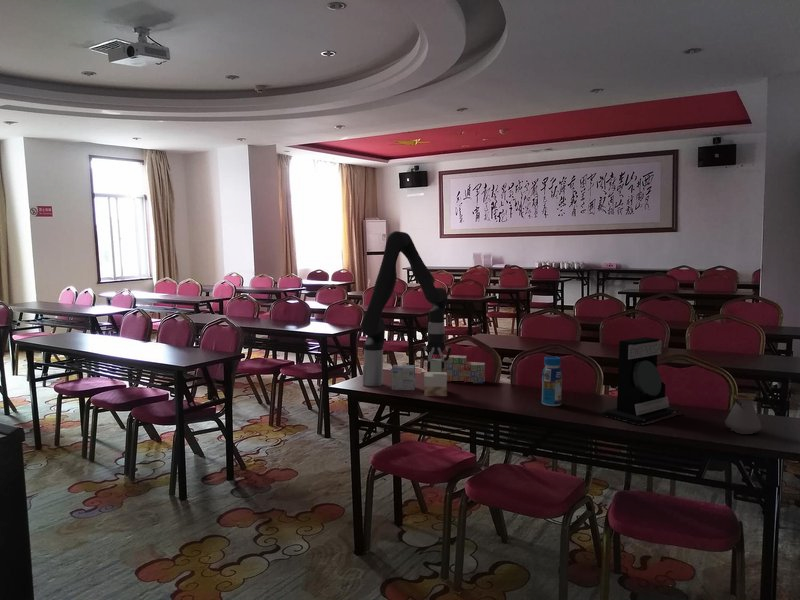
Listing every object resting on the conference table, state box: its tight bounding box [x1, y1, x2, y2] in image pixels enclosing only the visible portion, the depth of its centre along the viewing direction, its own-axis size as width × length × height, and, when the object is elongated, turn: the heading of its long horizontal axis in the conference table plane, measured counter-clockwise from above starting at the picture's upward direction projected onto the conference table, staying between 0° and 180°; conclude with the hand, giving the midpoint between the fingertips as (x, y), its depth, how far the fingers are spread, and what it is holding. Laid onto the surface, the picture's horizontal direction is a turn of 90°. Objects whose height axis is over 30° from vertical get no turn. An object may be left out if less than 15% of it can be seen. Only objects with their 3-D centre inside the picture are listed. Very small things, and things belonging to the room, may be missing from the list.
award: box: [601, 336, 680, 424], centre depth 238 cm, size 30×19×30 cm, turn 126°
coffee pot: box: [724, 394, 762, 433], centre depth 213 cm, size 21×12×15 cm, turn 140°
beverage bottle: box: [541, 355, 563, 407], centre depth 254 cm, size 8×8×20 cm
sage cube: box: [429, 358, 442, 372], centre depth 272 cm, size 5×5×5 cm
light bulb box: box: [391, 364, 416, 391], centre depth 281 cm, size 11×7×11 cm, turn 84°
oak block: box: [423, 386, 448, 397], centre depth 273 cm, size 10×10×4 cm
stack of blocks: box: [441, 354, 486, 384], centre depth 298 cm, size 21×6×12 cm, turn 74°
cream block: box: [423, 371, 448, 388], centre depth 272 cm, size 10×10×4 cm
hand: (435, 369), depth 272 cm, fingers closed on sage cube, 5 cm apart
